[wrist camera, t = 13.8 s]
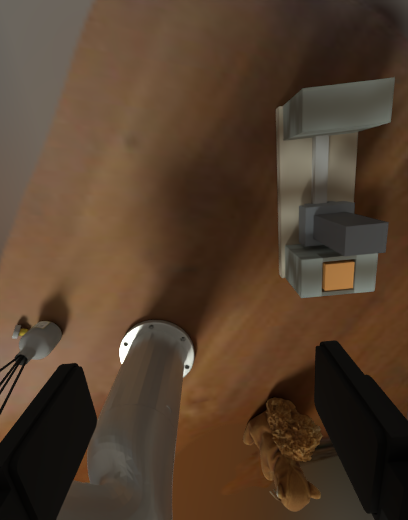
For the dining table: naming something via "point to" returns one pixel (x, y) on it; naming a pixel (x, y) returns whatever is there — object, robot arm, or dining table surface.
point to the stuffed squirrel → (285, 450)
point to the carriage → (341, 229)
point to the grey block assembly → (323, 172)
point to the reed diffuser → (32, 347)
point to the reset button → (337, 274)
